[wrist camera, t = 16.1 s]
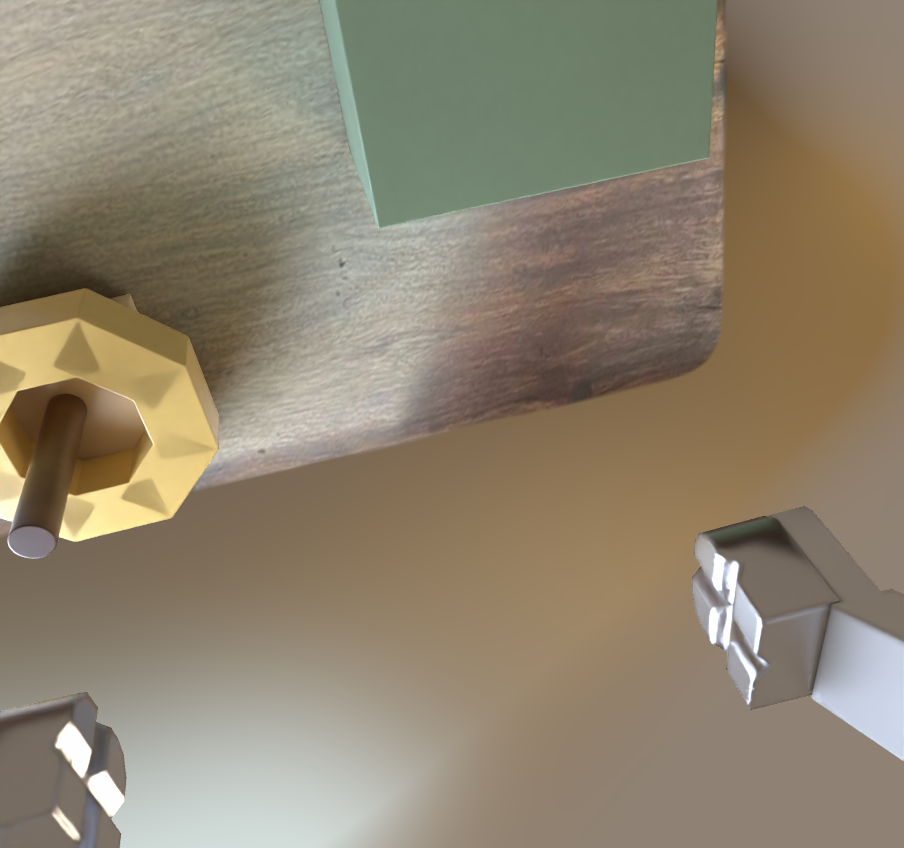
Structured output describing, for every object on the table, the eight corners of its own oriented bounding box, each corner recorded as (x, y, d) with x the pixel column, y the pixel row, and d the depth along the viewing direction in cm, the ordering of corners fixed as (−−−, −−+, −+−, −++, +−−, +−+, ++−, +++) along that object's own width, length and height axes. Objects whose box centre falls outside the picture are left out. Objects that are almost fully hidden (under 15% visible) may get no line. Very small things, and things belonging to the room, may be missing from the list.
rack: (130, 293, 40) (103, 427, 31) (190, 440, 46) (181, 590, 37) (-65, 334, 39) (-148, 484, 31) (19, 480, 45) (-31, 642, 36)
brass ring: (163, 270, 38) (159, 298, 36) (239, 467, 45) (239, 501, 43) (-105, 329, 37) (-126, 362, 35) (15, 521, 44) (4, 559, 42)
